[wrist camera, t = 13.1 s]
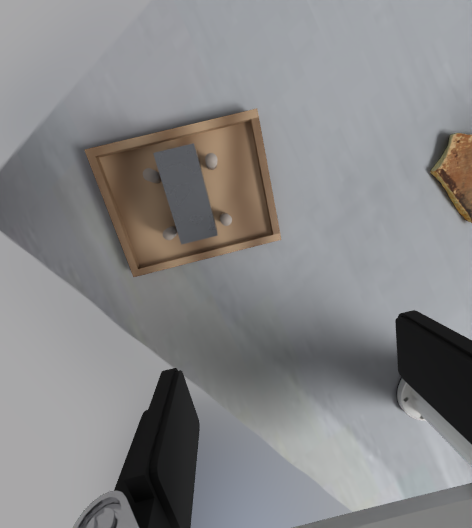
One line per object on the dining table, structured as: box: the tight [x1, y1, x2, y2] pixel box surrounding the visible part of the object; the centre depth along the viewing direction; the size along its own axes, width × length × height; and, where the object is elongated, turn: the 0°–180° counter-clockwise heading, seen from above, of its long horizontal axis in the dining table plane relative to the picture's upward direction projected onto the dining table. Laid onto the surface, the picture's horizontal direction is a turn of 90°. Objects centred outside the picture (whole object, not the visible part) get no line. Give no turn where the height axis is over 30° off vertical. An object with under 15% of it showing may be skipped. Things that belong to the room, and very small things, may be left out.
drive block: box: [153, 143, 218, 245], centre depth 23 cm, size 4×8×6 cm, turn 13°
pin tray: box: [85, 109, 281, 277], centre depth 25 cm, size 18×14×4 cm
